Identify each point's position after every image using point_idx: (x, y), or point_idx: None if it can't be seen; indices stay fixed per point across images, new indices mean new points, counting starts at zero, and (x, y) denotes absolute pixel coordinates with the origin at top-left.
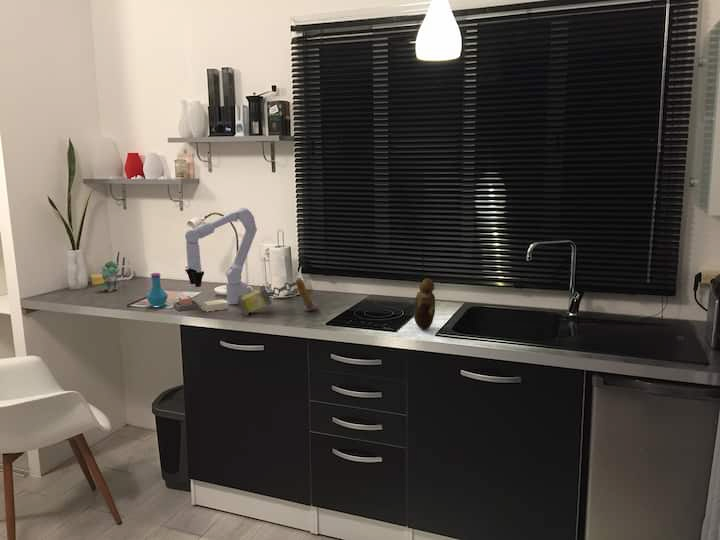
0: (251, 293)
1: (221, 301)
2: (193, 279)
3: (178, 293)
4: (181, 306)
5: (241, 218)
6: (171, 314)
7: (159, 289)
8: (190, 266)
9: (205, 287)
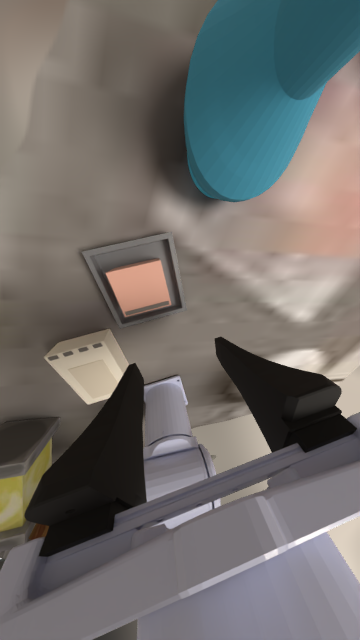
0: (9, 500)
1: (100, 391)
2: (228, 365)
3: (339, 264)
4: (88, 264)
5: None
6: (17, 209)
7: (249, 88)
8: (161, 620)
9: (337, 331)
